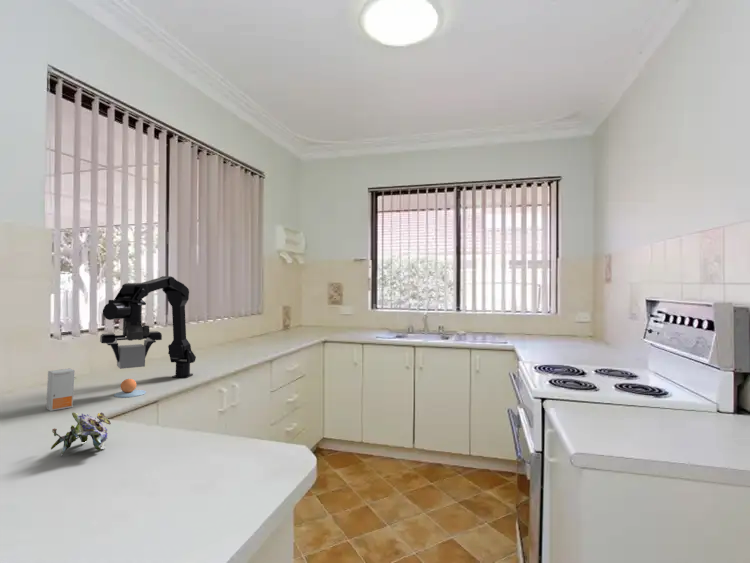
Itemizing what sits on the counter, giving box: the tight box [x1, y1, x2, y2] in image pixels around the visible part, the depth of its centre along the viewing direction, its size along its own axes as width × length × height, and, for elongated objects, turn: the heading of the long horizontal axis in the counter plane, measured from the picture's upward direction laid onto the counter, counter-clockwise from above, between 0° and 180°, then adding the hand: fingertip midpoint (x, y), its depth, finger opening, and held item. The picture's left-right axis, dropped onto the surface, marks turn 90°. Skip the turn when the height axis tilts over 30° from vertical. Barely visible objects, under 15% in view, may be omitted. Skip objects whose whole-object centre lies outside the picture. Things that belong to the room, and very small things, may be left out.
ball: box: [120, 378, 137, 393], centre depth 149 cm, size 5×5×5 cm
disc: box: [113, 389, 147, 399], centre depth 147 cm, size 10×10×1 cm
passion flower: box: [50, 412, 112, 455], centre depth 96 cm, size 11×11×12 cm
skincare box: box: [45, 368, 75, 412], centre depth 129 cm, size 6×4×12 cm
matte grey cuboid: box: [116, 343, 146, 369], centre depth 148 cm, size 8×8×7 cm
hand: (131, 360), depth 147 cm, fingers closed on matte grey cuboid, 8 cm apart
